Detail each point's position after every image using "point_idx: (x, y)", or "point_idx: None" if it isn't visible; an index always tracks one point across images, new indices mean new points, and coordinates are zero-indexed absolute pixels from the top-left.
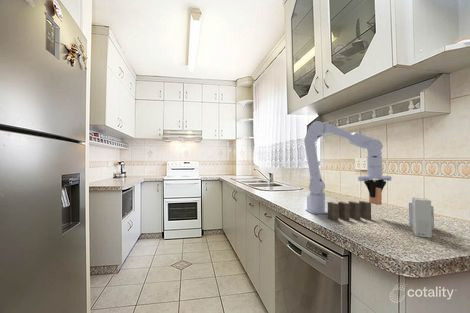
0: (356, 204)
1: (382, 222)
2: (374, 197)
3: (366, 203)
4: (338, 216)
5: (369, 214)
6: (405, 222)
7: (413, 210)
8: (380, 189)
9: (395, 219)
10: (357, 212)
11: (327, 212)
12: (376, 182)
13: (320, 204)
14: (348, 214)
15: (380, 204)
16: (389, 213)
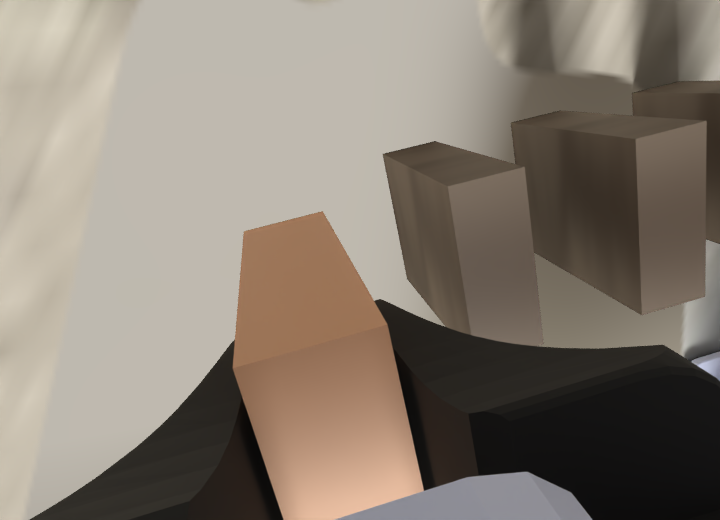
0: (682, 121)
1: (325, 3)
2: None
3: (521, 170)
4: None
5: (420, 155)
6: (24, 19)
7: None
8: (267, 339)
9: (86, 178)
10: (591, 119)
11: (709, 363)
12: (509, 411)
13: None
14: (689, 92)
15: (265, 226)
16: (21, 487)
